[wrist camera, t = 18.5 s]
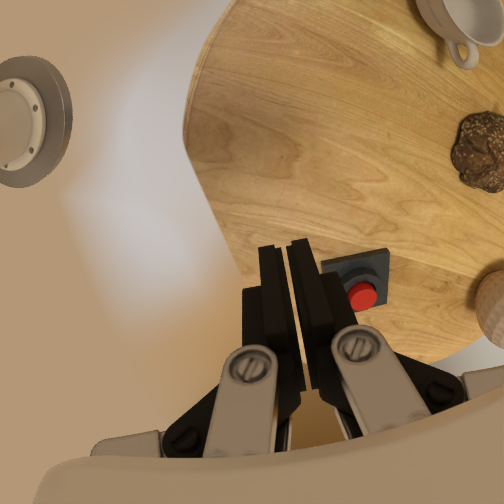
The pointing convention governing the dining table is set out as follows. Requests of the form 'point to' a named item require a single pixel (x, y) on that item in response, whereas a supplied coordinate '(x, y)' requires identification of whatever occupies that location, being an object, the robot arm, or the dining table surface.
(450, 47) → the teacup
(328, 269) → the grey button base
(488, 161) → the bread roll
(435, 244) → the dining table surface
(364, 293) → the red push button
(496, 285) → the vase
